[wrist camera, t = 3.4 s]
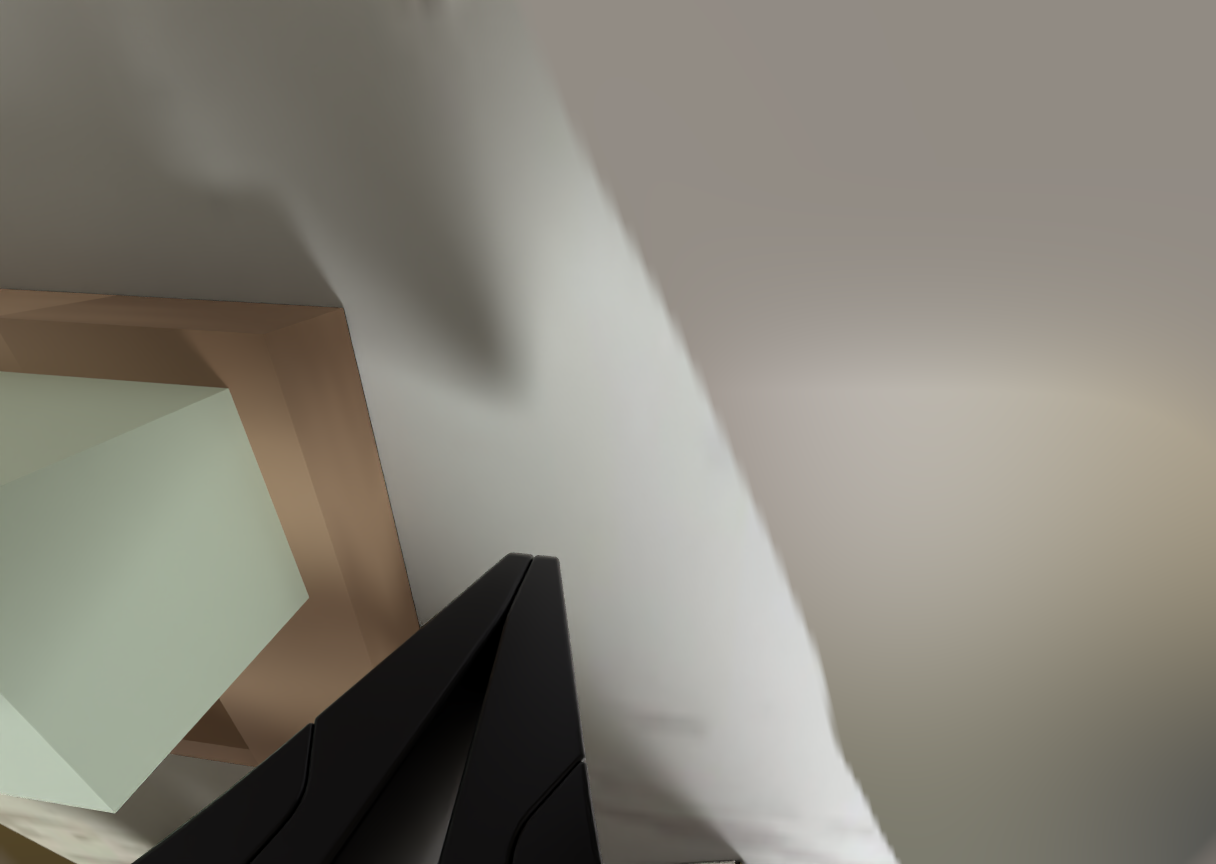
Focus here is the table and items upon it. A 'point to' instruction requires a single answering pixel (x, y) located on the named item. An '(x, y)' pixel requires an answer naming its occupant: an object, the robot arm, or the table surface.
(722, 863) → the gable box
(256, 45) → the table surface
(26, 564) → the block
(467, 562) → the table surface
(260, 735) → the board
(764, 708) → the table surface
